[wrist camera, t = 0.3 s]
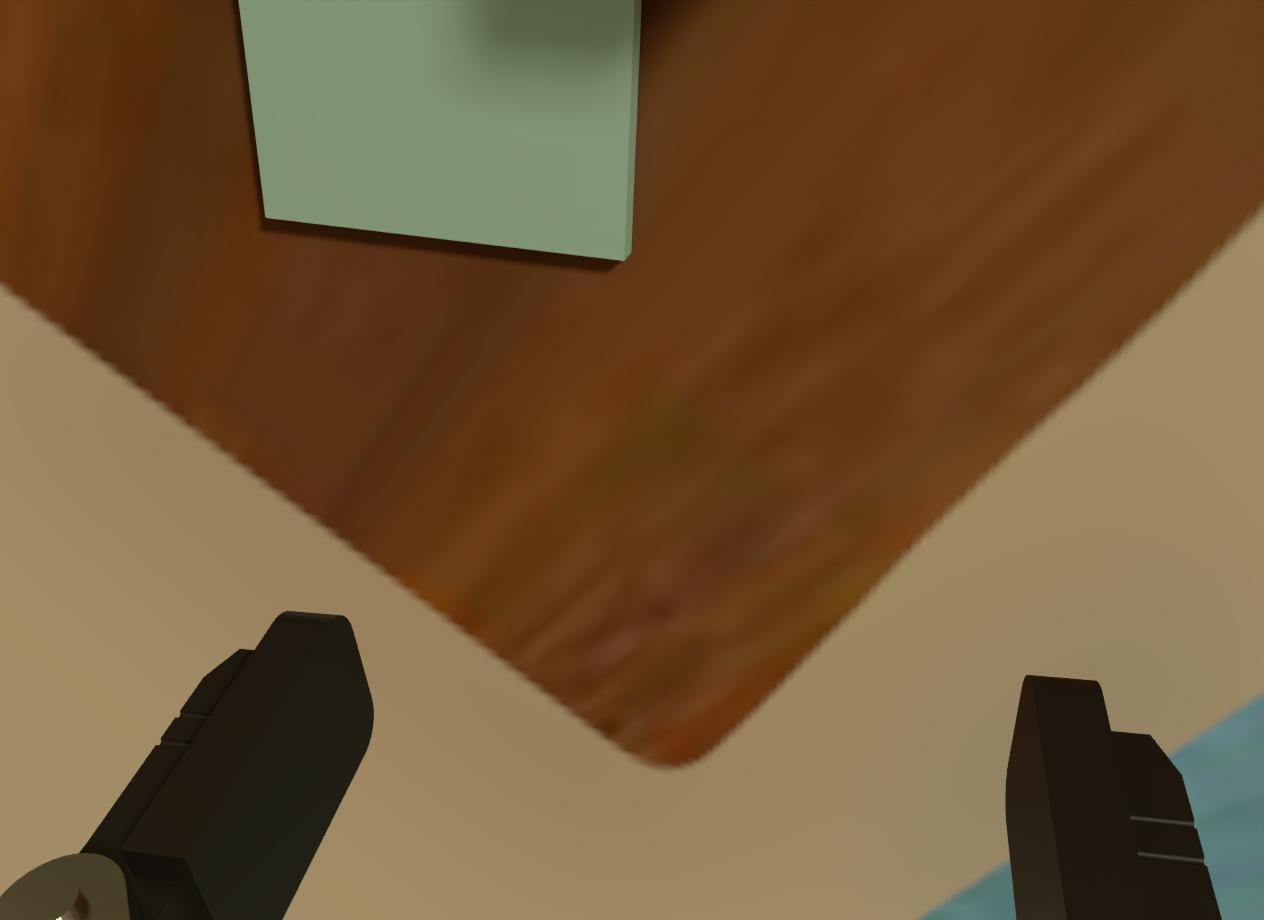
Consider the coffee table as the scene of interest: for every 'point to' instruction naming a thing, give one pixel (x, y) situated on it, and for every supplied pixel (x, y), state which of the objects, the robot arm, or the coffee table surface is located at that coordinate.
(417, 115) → the green square tile
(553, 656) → the coffee table surface
